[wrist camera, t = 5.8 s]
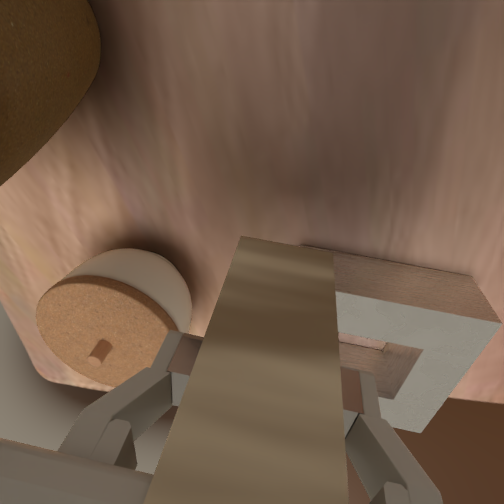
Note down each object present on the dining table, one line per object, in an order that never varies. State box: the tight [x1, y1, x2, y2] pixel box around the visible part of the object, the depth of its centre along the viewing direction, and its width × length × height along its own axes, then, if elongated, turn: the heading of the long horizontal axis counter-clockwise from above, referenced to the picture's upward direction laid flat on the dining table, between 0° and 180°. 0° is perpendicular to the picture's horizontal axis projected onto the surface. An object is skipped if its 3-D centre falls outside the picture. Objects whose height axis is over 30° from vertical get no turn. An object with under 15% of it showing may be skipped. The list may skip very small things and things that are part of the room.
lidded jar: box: [36, 248, 192, 387], centre depth 27 cm, size 11×11×9 cm
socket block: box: [300, 245, 502, 433], centre depth 27 cm, size 13×13×5 cm
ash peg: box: [143, 236, 349, 504], centre depth 11 cm, size 4×4×12 cm
